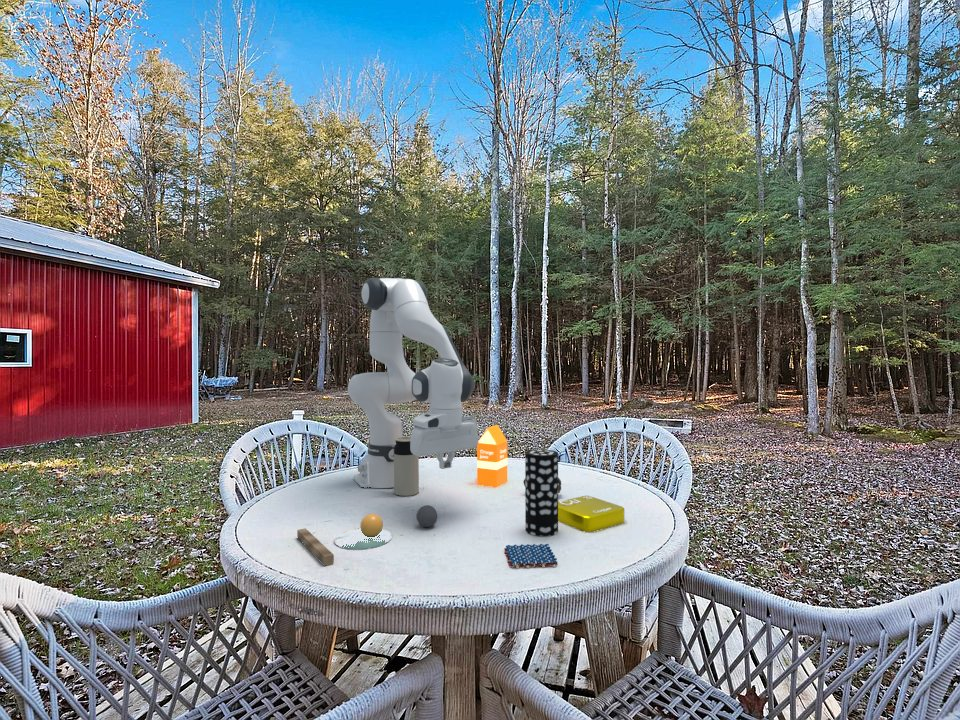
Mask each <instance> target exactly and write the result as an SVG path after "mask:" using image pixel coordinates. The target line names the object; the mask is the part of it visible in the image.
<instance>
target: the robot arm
mask: <svg viewBox="0 0 960 720" xmlns="http://www.w3.org/2000/svg"><path fill="white" fill-rule="evenodd" d="M361 300H362V304H363V305H364V307H365V308H367V309H370V310H371V312H370V317H369V320H370V321H369V354H370V356H371V357H372V358H373V359H374V360H376V361H378V362H379V363H381V364H384V365H385V366H386V371H383V372H382V371H381V372H380V371H377V372H375V371H373V372H363V373H362V372H361V373H359V374H358V373H357V374H354V375H353V376H352V377H351V378H350V379H349V381H348V384H347V394H348V396H349V398H350V399H351V401H352V402H354V403H355V404H356V405H358V407H360V408H361V410H363V412H364V414H365V416H366V417H367V421H368V427H369V443H368V444H367V445H368V446H367V455H366V456H365V457H364V458H363V459H362V460H361V461H360V463H359V465H357V472H358V473H357V474H355V475H353V478H354V479H355V480H354V479H353V478H352V479H353V480H354V481H355V482H356V484H357V483H358V484H359V485H360V486H359V485H358V484H357V485H358V486H359V488H361V487H364V488H363V489H366V488H367V487H368V488H369V487H371V489H390V488H394V447H395V445H396V441H395V438H397V437H403V422H402V420H401V419H400V417H399V416H397V415H395V414H393V413H392V412H390V411H387V410H386V407H385V405H387V404H403V403H409V402H412V401H416V400H417V401H418V402H419V403H426V404H428V403H430V405H429V410H428V411H427V412H424V413H422V414H419V415H417V416H415V417H414V418H413V419H412V424H413V426H414V427H413V428H412V430H411V434H410V436H411V442H410V450H411V452H412V454H413V455H415V456H419V457H425V456H430V455H435V457H436V459H437V461H438V462H439V464H438V465H439V466H438V467H439V469H442V470H444V469H450V468H452V466H453V465H452V464H453V463H452V462H453V461H454V459H455V456H456V452H457V451H465V450H466V451H467V450H472V449H477V445H478V442H479V433H478V421H477V418H476V417H475V416H473V415H472V414H471V415H464V416H463V407H462V406H463V405H462V403H464V402H466V401H467V400H468V399H469V398H470V397H471V395H472V394H473V392H474V391H475V390H474V389H475V381H474V378H473V376H472V374H471V373H470V371H469V370H468V369H467V367H466V366H465V364H464V362H463V360H462V357H461V355H460V353H459V351H458V350H457V347H456V346H455V343H454V342H453V339H452V337H451V335H450V333H449V331H448V329H447V328H446V327H445V326H444V325H443V324H442V323H440V322H439V321H438V319H437V318H436V317H435V316H434V315H433V312H432V311H431V309H430V307H429V302H428V290H427V288H426V286H425V284H424V283H423V282H422V281H419V280H414V279H412V278H401V277H394V278H393V277H392V278H391V277H390V278H389V277H388V278H387V277H385V278H384V277H380V278H379V277H371V278H367V279H366V280H365V281H364V282H363V285H362V288H361ZM403 336H404V337H406V338H408V339H409V340H412V341H415V342H419V343H423V344H425V345H428V346H430V347H432V348H433V349H435V350H436V352H437V353H438V354H439V357H440V358H439V357H438V358H434V359H432V361H431V363H430V366H428V367H426V368H424V369H422V370H418V371H417V372H414V370H412V369H411V368H410V367H409V365H408V364H407V361H406V360H405V357H404V353H403V352H404V351H403ZM445 454H447V458H446V460H445V459H444V457H445ZM368 488H367V489H368Z"/></svg>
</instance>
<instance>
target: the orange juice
mask: <svg viewBox="0 0 960 720" xmlns="http://www.w3.org/2000/svg"><path fill="white" fill-rule="evenodd" d="M505 482H506V483H507V482H508V439H507V438H506V437H505V434H504V433H503V431H502V429H501V428H500V426H499V425H498V424H496V425H492V426H488V427H486V429H485V431H484V433H483V434H482V435H481V437H480V439H478V445H477V447H476V483H477V486H481V485H484V486H483V487H488V486H492V487H491V488H496V487H497V488H499V487H500V485H501V484H502V485H504V484H506V483H505ZM503 483H504V484H503ZM502 485H501V486H502ZM498 486H499V487H498Z"/></svg>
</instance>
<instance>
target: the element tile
mask: <svg viewBox="0 0 960 720" xmlns="http://www.w3.org/2000/svg"><path fill="white" fill-rule="evenodd" d="M559 522H560V523H562V524H565V525H566V526H569V527H571V528H573V527H574V528H573V529H576V530H578V529H579V531H581V532H583V531H585V532H584V533H594V531H595V532H597V530H598V531H602V530H604V529H608V527H609V528H612V527H611V526H613V527H616V526H618V525H619V524H620V525H623V524H624V523H625V507H624V506H622V505H618V504H615V503H612V502H609V501H606V500H603V499H600V498H597V497H594V496H591V495H582V496H578V497H573V498H569V499H565V500H563V499H562V500H558V523H559ZM622 523H623V524H622ZM615 525H616V526H615ZM601 529H602V530H601Z"/></svg>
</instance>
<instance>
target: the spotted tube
mask: <svg viewBox="0 0 960 720" xmlns="http://www.w3.org/2000/svg"><path fill="white" fill-rule="evenodd" d="M524 454H525V456H524V457H525V458H524V459H525V461H524V463H525V467H524V468H525V470H524V471H525V473H524V474H525V478H524V479H525V486H524V487H525V489H524V490H525V491H524V493H525V495H524V496H525V499H524V500H525V501H524V502H525V503H524V504H525V505H524V506H525V508H524V509H525V513H524V514H525V515H524V516H525V532H526V533H527V534H530V535H533V536H535V535H536V536H537V537H550V536H551V537H552V536H555V535H556V534H558V533H559V521H558V502H559V493H558V478H559V452H558V451H555V450H551V449H543V448H542V449H539V448H537V449H530V450H526V451H525V453H524Z"/></svg>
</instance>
